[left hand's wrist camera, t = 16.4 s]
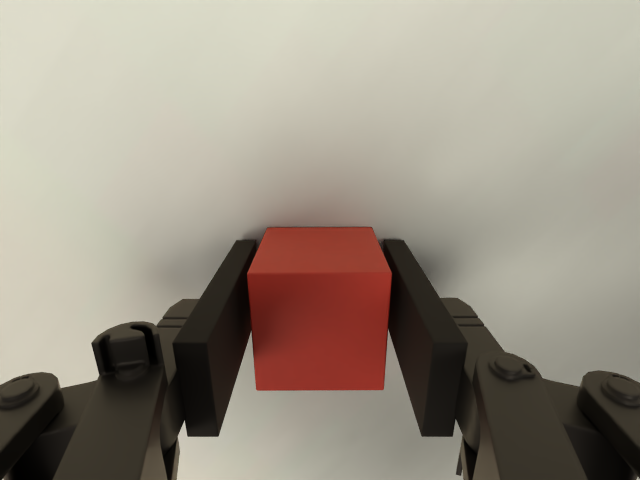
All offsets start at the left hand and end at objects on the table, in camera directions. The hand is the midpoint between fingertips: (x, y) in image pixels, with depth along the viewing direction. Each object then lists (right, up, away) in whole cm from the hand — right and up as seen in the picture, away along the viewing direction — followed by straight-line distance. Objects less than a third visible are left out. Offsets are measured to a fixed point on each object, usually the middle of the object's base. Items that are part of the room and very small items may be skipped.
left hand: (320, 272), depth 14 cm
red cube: (0, 0, 0) cm, 0 cm away
